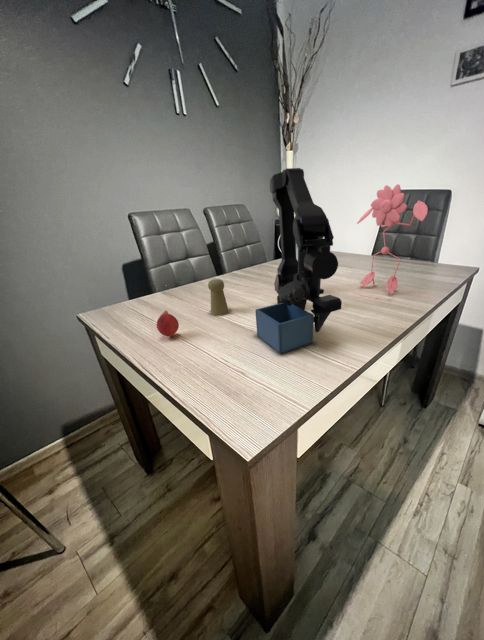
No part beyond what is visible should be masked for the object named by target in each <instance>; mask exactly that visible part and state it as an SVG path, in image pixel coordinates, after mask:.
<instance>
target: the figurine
mask: <svg viewBox="0 0 484 640" xmlns="http://www.w3.org/2000/svg"><path fill="white" fill-rule="evenodd" d="M376 197H377V198H376V199H373V201H372V202H371V204H370V208H369V209H368V210H367V211H366V212H364V214H363V215H362V216H361V217H360V218H359V220H358V221H357V222H356V224H357V225H358V224H360V223H361V222H363V221H364V220H365V219H366V218H367V217H369V216H370V214H371V217H372V218H375V224H376V225H377V226H380V227H381V228H384V227H387V228H385V229H384V230H383V231H382V237H383V238H382V239H383V244H384V246H383V247H382V248H381V250H380V251H378V252H376V253H375V254H372V261H371V270H370V272H369V273H367V274H366V275H365V276H364V277H363V279H362V281H361V282H360V283H361V284H360V287H361V288H363V287H365V286H367V285H369V284H370V283H371V282H372V286H373V287H375V286H376V284H375V279H374V278H375V275H376V273H375V272H374V271H373V270H374V269H373V268H374V258H375V256H376V255H379V254H382V255H387V254H388V255H391V256H392V257H394V258H396V259H397V260H398V263H397V265H396V268H395V271H394V273H393V276H390V277H389V278H388V279H387V281H386V290H387V291H388V293H389V294H390V295H392V294H393V293H395V292H396V290H397V289H398V286H399V280H398V278H397V277H396V274H397V271H398V269H399V266H400V262H401V258H399V256H396V255H394V254H393V253H391V252H390V247H389V246H387V245H386V235H385V232H386V231H388V230H390V228H391V227H393V226H394V225H401V226H405V227H407V226H408V227H411V226H412V224H413V221H414V219H415V218H416V220H419V221H420V222H424V220H425V219H426V216H427V215H428V205H427V204H426V203H425V202H424V201H421V200H417V202H416V203H414V206H413V209H412V214H413V215H412V217H411V219H410V222H409V223H406V222H405V223H404V222H399V221H400V219H401V215H400V214H402V213H404V212H405V211H406V210H407V208H408V205H407V204H406V203H404V202H403V201H404V200H405V193H404V192H402V189H401V185H400V184H399V183H398V184H396V185H395V186H394V187H393V188H391V186H389V185H387V184H386V185H385V186H384V187H383V189H379V190H377V191H376ZM383 223H384V224H383ZM354 295H358V296H360V297H362V298H363V297H364V298H367V296H365V295H362V294H360V293H359V294H358V293H355V292H354ZM369 298H370V299H372V297H371V296H368V299H369ZM374 299H375V300H381V298H377V297H374Z"/></svg>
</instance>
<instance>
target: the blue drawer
mask: <svg viewBox="0 0 484 640" xmlns="http://www.w3.org/2000/svg"><path fill="white" fill-rule="evenodd" d="M255 324H256V336H257V338H259V339H260V340H261V341H263V342H264V344H266V345H267V346H269V347H270V348H271V349H272V350H274V351H275V352H276V353H277V354H279V355H282V354H286V353H289V352H291V351H295V350H298V349H300V348H303V347H306V346H309V345H312V344H313V343H314V342H313V341H314V324H315V322H314V314H313V313H312V312H310V311H308V310H306V309H305V310H303V309H301V308H299V307H297V306H295V305H291V306H288V305H287V304H285V303H279V304H277V303H275V304H271V305H268V306H263V307H259V308H257V309H255Z"/></svg>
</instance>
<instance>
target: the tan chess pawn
mask: <svg viewBox="0 0 484 640" xmlns="http://www.w3.org/2000/svg"><path fill="white" fill-rule="evenodd" d="M207 283H208V284H207V288H208V289H209V292H210V313H211V315H213V316H222V315H226V314H228V313H229V308H228V303H227V299H226V296H225V292H224V291H225V290H224V288H225V282H224V281H223V280H222V279H217V278H215V279H211V280H209V281H208V282H207Z"/></svg>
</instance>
